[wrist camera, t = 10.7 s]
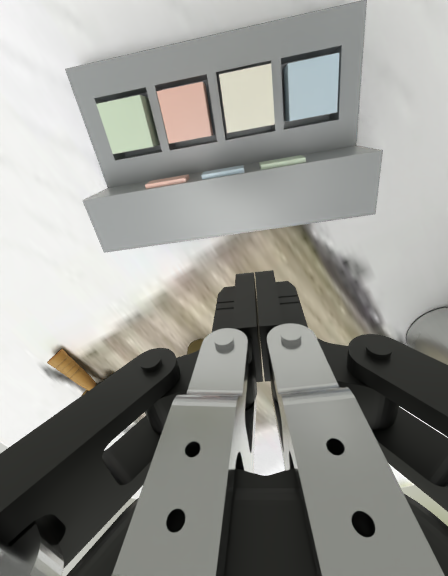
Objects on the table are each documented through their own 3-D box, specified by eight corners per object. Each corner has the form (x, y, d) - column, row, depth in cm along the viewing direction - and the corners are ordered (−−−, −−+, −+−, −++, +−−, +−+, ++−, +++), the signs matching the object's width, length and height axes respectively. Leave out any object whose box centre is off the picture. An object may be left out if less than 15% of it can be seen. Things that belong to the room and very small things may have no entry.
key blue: (326, 62, 25) (339, 52, 21) (325, 113, 27) (337, 112, 23) (281, 71, 25) (287, 63, 22) (283, 121, 27) (289, 121, 24)
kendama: (51, 357, 50) (124, 417, 54) (27, 379, 44) (111, 445, 48) (79, 332, 48) (151, 396, 53) (58, 351, 42) (142, 422, 47)
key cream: (266, 71, 24) (271, 63, 21) (270, 124, 26) (274, 124, 23) (221, 81, 24) (219, 74, 21) (228, 132, 26) (227, 133, 23)
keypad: (348, 17, 24) (404, -38, 16) (339, 191, 32) (375, 214, 24) (86, 76, 27) (22, 55, 19) (135, 222, 35) (104, 252, 26)
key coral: (206, 86, 26) (202, 81, 23) (214, 134, 28) (211, 135, 25) (166, 95, 26) (156, 91, 23) (176, 141, 28) (168, 143, 25)
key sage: (151, 98, 27) (139, 94, 23) (162, 144, 29) (153, 146, 25) (113, 106, 27) (96, 103, 24) (126, 150, 29) (112, 154, 26)
